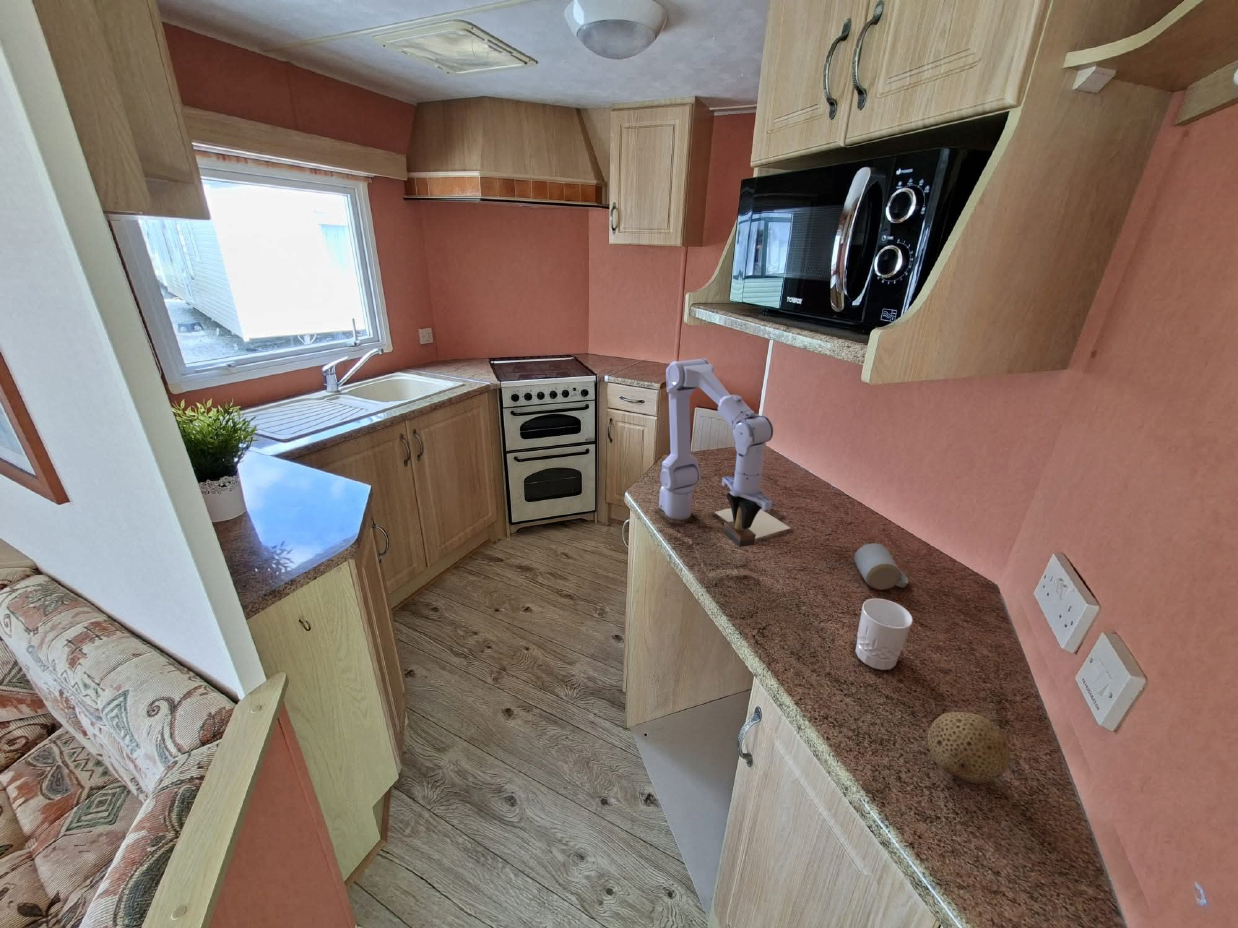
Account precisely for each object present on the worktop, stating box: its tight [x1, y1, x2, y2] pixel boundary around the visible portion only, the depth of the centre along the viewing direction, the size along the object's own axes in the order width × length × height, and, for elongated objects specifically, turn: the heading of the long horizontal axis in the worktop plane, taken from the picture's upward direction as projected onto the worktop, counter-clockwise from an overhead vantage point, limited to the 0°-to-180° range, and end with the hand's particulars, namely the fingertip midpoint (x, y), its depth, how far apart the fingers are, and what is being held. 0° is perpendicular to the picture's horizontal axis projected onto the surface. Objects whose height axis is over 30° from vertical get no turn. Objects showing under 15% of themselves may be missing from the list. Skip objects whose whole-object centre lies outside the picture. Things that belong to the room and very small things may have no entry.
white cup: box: [855, 598, 914, 671], centre depth 88 cm, size 8×8×10 cm
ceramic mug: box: [853, 542, 909, 591], centre depth 109 cm, size 11×8×8 cm
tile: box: [714, 507, 791, 540], centre depth 134 cm, size 16×13×1 cm
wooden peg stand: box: [722, 505, 756, 548], centre depth 113 cm, size 7×4×8 cm, turn 20°
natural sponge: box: [927, 711, 1011, 784], centre depth 68 cm, size 9×9×10 cm
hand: (742, 524), depth 113 cm, fingers closed on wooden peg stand, 2 cm apart
